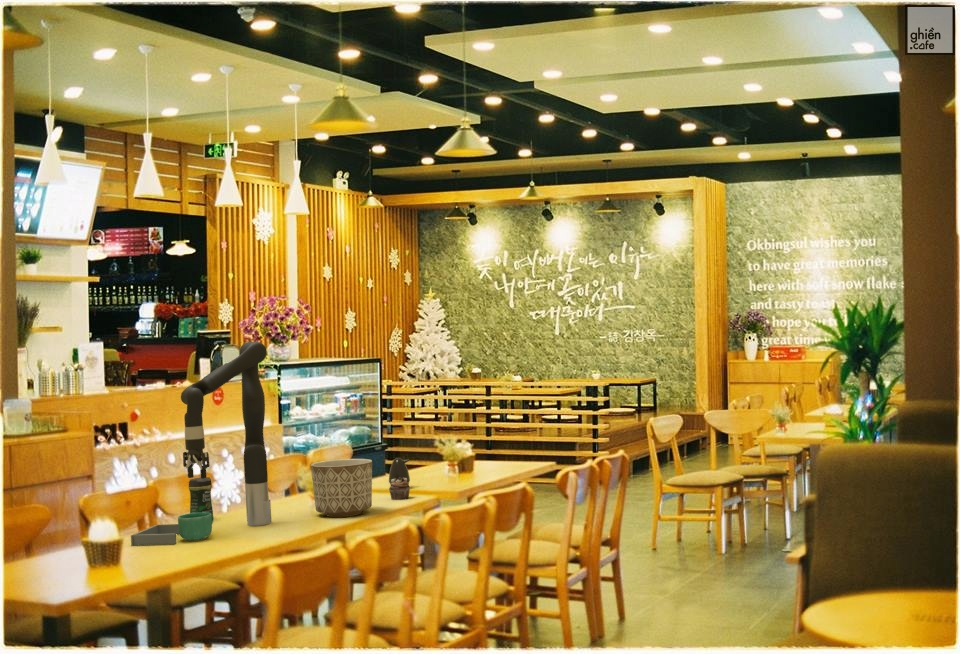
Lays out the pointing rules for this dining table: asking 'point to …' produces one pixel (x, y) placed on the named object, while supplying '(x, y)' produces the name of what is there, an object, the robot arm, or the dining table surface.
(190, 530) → the mug
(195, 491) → the coffee jar
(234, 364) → the robot arm
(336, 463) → the planter
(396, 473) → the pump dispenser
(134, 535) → the tray
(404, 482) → the cupcake
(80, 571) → the dining table surface
